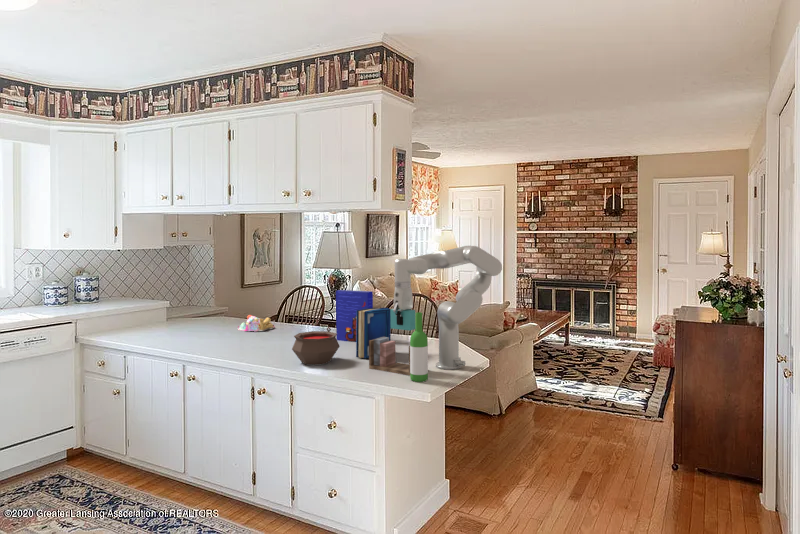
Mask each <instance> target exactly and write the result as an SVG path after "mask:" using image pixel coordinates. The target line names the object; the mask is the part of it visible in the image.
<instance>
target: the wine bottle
mask: <svg viewBox="0 0 800 534" xmlns="http://www.w3.org/2000/svg"><path fill="white" fill-rule="evenodd" d="M409 338H410V339H409V340H410V341H409V343H410V345H409V346H410V375H409V376H410V380H411V381H412V382H414V381H415V383H423V381H424V382H426V381H427V380H428V376H429V364H428V363H429V361H428V360H429V359H428V357H429V356H428V355H429V354H428V353H429V345H428V344H429V342H428V336H427V334H426V333H425V332H424V331H423V312H420V311H417V312H415V329H414V331H413V332H412V334H411V335H410V337H409Z"/></svg>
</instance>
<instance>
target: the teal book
mask: <svg viewBox="0 0 800 534" xmlns="http://www.w3.org/2000/svg"><path fill="white" fill-rule="evenodd" d="M389 309H390V315H391V330H394V329H395V330H402V331H408V332H409V331H415V323H416V309H411V310H409V309H408V310H403V313H402V317H403V325H397V316H396V314H395V312H394V311H393V309H394V308H389ZM399 310H401V309H399ZM399 312H400V311H399Z"/></svg>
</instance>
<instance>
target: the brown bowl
mask: <svg viewBox="0 0 800 534" xmlns="http://www.w3.org/2000/svg"><path fill="white" fill-rule="evenodd" d="M331 330H332V329H331V328H330V326H327V328H326V330H325V331H324V330H320V331H317V330H315V331H314V330H313V331H304V332H298V333H296V334H295V335H293V338H295V341H294V343H293V345H292V348H291V350H292V352H293V353H294V354H295V355H296V357H297V358H298V360H300V362H301V363H302V364H303V365H304V364H305V365H307V366H310V365H311V366H319V365H320V366H321V365H326V364H328V363H330V362H331V360H332V359H333V357H334V356H335V354H336V353H337V351H338V349H339V348H340V347H341V346H340V344H339V341H338V340H337V334H336V332H332V331H331Z"/></svg>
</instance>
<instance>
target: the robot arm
mask: <svg viewBox="0 0 800 534" xmlns="http://www.w3.org/2000/svg"><path fill="white" fill-rule="evenodd" d="M467 264H471V265H472V264H473V266H476V267H475V269H476V272H475V276H474V278H473V279H471V281H469V282H468V283H467V284H466V285H464V286H463V287H462V288H461V289H460V290H459V291H458V292H457V293H456V295H455V301H456V302H453V301H449V300H447V301H443V302H441V303H440V304H439V306H438V307H437V322H438V362H436V363H435V367H436V368H437V369H439V370H440V369H441V370H458V369H460V368H462V367H463V366H465V365H466V361H465V360H461V356H460V355H459V353H460V351H459V350H460V349H459V348H460V347H459V341H460V340H459V334H460V332H459V331H460V329H459V324H462V323H463V322H464V321H466V320H467V319H468V318H469V317H470V316H471V315H473V314H474V313H475V312H476V311H477V310H478V309H479V308H481V306H482V303H483V295H484V293H486V291H488V289H489V288H490V286H491V284H492V277H496V276H498V275H500V273H501V272H502V271H503V264H502V262H501V260H499V259H498V258H497V257H495V256H493V255H492V254H491V253H489V252H487V251H486V250H484V249H483V248H481V247H480V246H476V245H464V246H460V247H455V248H451V249H450V248H449V249H445V250H443V251H442V250H441V251H436V252H433V253H432V252H431V253H426V254H422V255H418V256H414V257H411V258H397V259H395V260H394V292H393V308H392V309H393V311H394V312H395V314H396V316H397V325H403V317H402V313H403V310H408V309H409V310H413V307H414V297H413V291H412V285H411V284H412V281H411V280H412V277H411V275H424V274H425V273H427V271H429V270H434V269H436V270H437V269H439V270H440V269H445V270H446V269H451V268H454V267H458V266H463V265H467ZM399 309H401V310H399ZM399 311H400V312H399Z"/></svg>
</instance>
